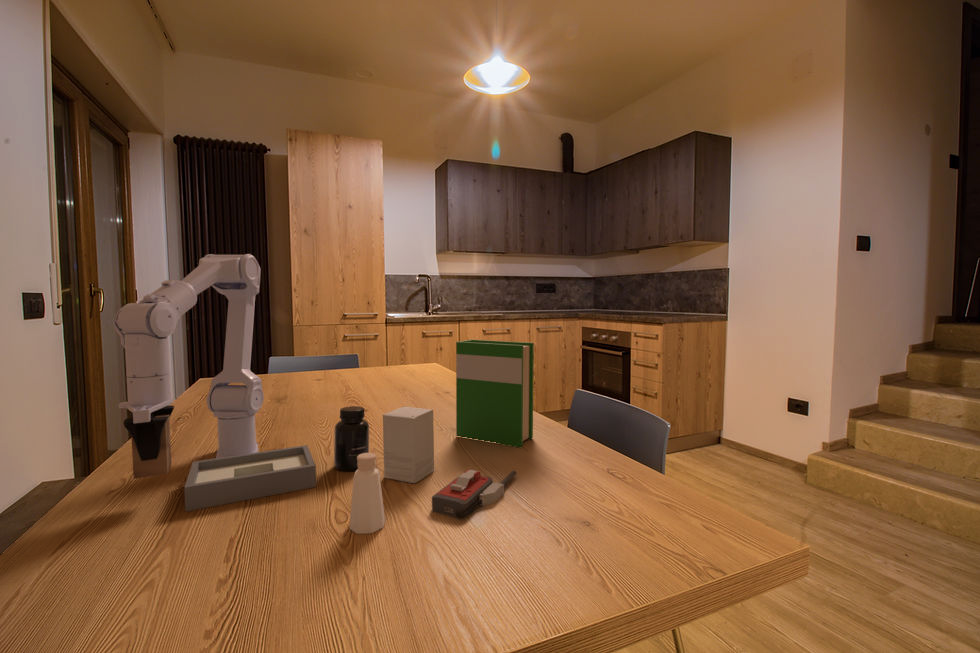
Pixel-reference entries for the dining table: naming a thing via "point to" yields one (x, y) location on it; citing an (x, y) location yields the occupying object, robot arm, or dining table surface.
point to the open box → (248, 477)
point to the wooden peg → (155, 465)
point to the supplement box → (408, 444)
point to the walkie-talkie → (468, 494)
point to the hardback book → (494, 391)
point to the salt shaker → (366, 497)
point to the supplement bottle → (350, 438)
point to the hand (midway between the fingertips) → (152, 454)
